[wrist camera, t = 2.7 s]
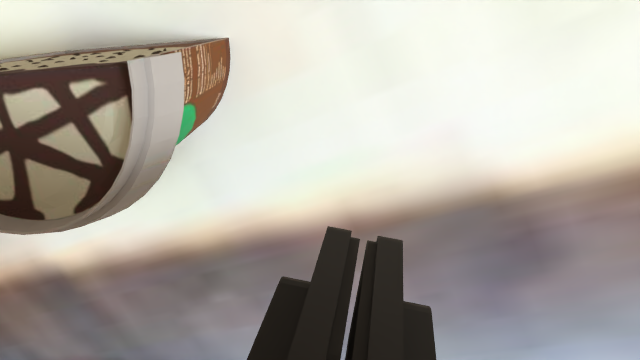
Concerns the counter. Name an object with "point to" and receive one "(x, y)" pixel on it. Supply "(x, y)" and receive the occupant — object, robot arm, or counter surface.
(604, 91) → the counter surface
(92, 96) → the food container
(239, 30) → the counter surface
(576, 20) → the counter surface
